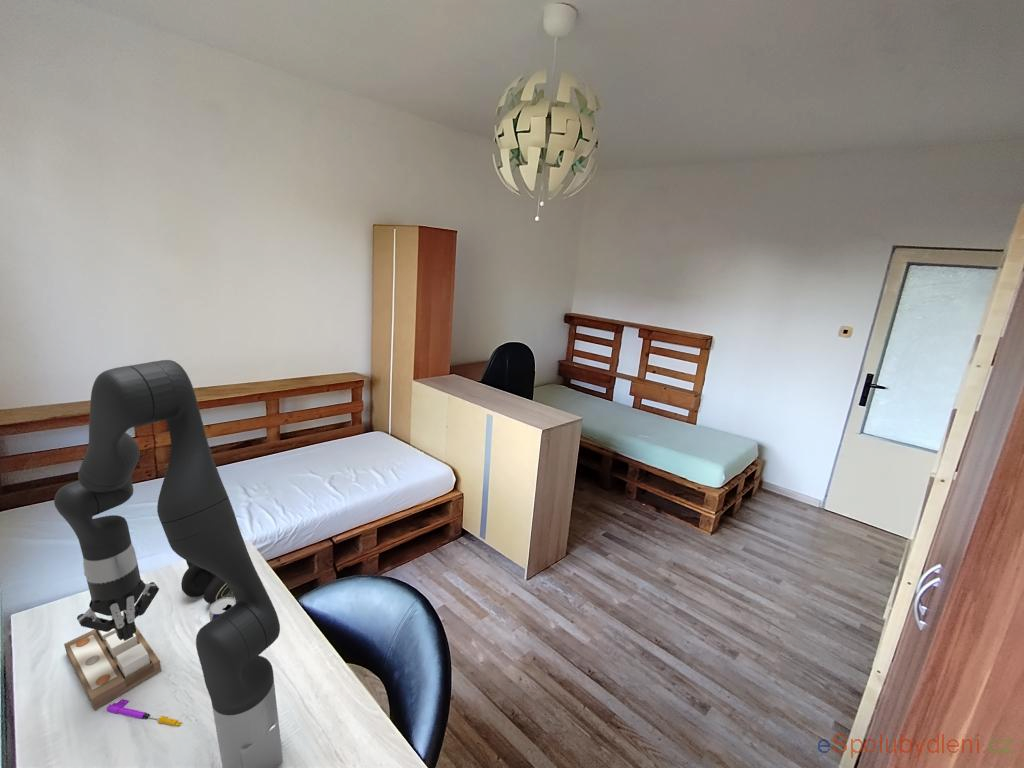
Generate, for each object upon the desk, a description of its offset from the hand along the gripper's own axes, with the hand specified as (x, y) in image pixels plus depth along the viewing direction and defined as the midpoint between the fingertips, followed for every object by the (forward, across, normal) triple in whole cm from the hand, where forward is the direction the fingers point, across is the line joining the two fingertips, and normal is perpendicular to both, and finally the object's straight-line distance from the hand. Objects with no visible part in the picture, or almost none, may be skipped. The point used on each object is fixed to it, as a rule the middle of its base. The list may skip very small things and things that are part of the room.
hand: (127, 636), depth 92 cm
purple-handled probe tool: (+11, -1, -12) cm, 16 cm away
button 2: (+8, 0, 0) cm, 8 cm away
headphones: (+11, +19, +12) cm, 25 cm away
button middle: (+8, 0, +7) cm, 10 cm away
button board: (+10, -2, +7) cm, 13 cm away
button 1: (+9, 0, +14) cm, 17 cm away
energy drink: (+10, +15, -8) cm, 20 cm away
